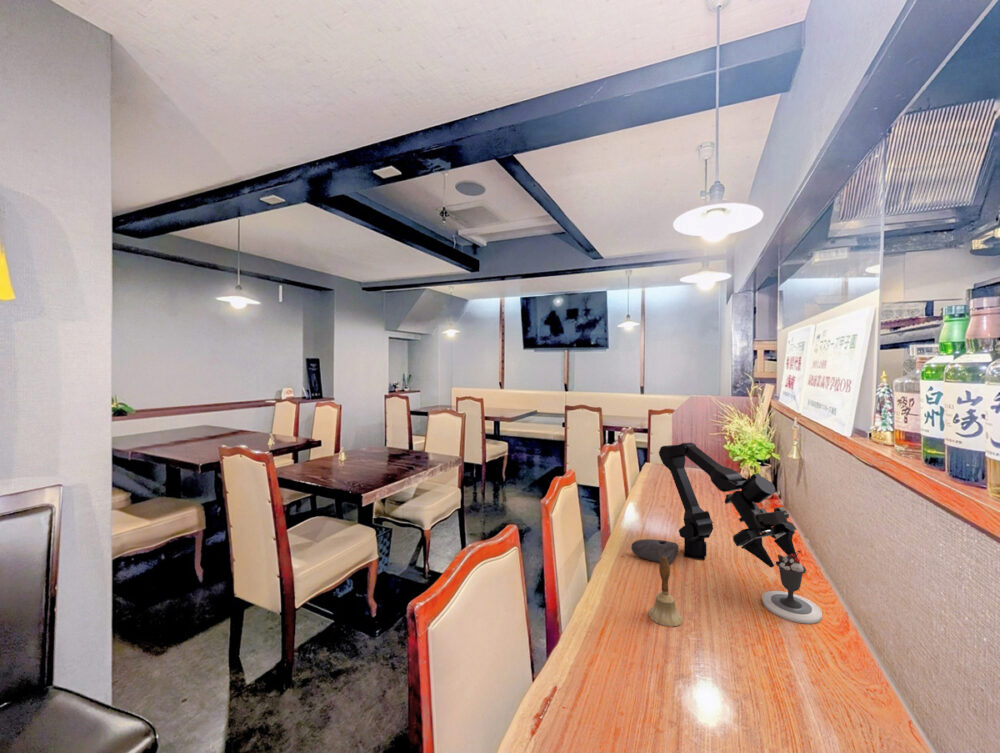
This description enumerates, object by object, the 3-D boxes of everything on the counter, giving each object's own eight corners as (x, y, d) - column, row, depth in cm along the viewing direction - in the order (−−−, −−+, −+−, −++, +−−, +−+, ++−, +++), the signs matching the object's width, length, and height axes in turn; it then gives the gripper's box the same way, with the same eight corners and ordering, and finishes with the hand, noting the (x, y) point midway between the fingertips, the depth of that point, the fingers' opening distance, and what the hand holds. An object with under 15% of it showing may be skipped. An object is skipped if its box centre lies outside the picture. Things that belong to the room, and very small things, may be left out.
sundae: (811, 612, 104) (811, 555, 104) (782, 609, 106) (782, 553, 106) (798, 597, 111) (798, 544, 111) (771, 595, 112) (771, 542, 112)
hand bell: (667, 631, 100) (667, 567, 99) (641, 613, 107) (641, 553, 107) (689, 621, 103) (690, 559, 103) (663, 604, 111) (663, 547, 110)
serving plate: (765, 615, 106) (765, 609, 106) (759, 590, 117) (759, 585, 117) (827, 629, 100) (827, 623, 100) (815, 602, 111) (815, 597, 111)
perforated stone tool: (629, 558, 138) (629, 538, 138) (632, 552, 142) (632, 532, 142) (677, 568, 131) (677, 547, 131) (678, 561, 135) (678, 541, 135)
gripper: (742, 501, 111) (781, 558, 101) (790, 494, 118) (831, 547, 107) (718, 519, 119) (752, 574, 109) (764, 511, 125) (800, 562, 115)
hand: (784, 564), depth 110 cm, fingers open, 9 cm apart
